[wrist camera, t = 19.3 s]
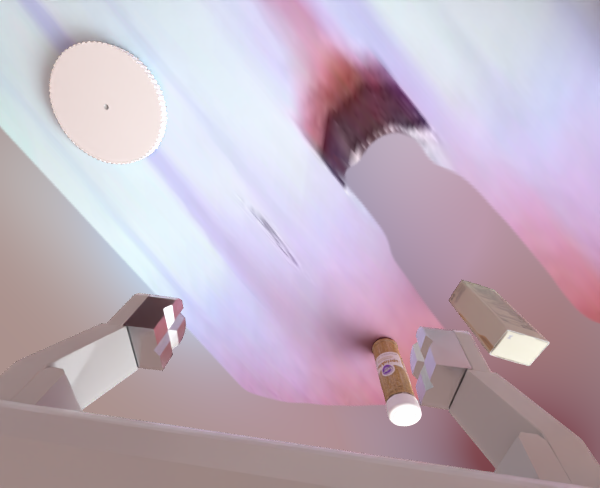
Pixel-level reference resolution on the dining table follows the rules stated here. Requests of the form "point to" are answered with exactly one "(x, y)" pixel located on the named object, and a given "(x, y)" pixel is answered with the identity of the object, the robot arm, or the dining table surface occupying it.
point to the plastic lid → (107, 102)
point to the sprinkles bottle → (395, 384)
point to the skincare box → (497, 324)
